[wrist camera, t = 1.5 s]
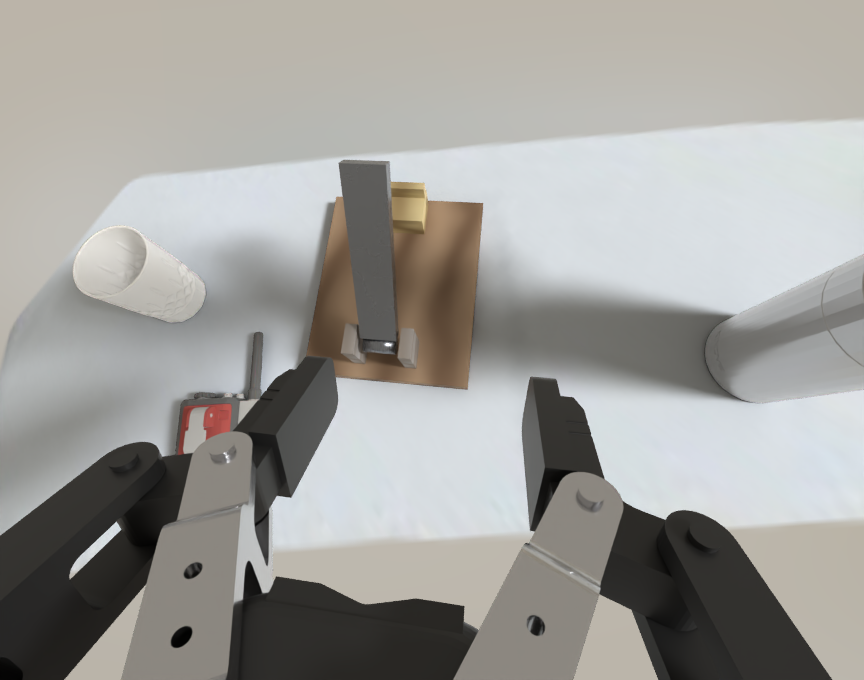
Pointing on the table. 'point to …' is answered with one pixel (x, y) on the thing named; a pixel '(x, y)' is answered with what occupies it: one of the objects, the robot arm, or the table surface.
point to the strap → (372, 251)
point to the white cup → (137, 275)
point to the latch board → (407, 294)
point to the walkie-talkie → (217, 409)
